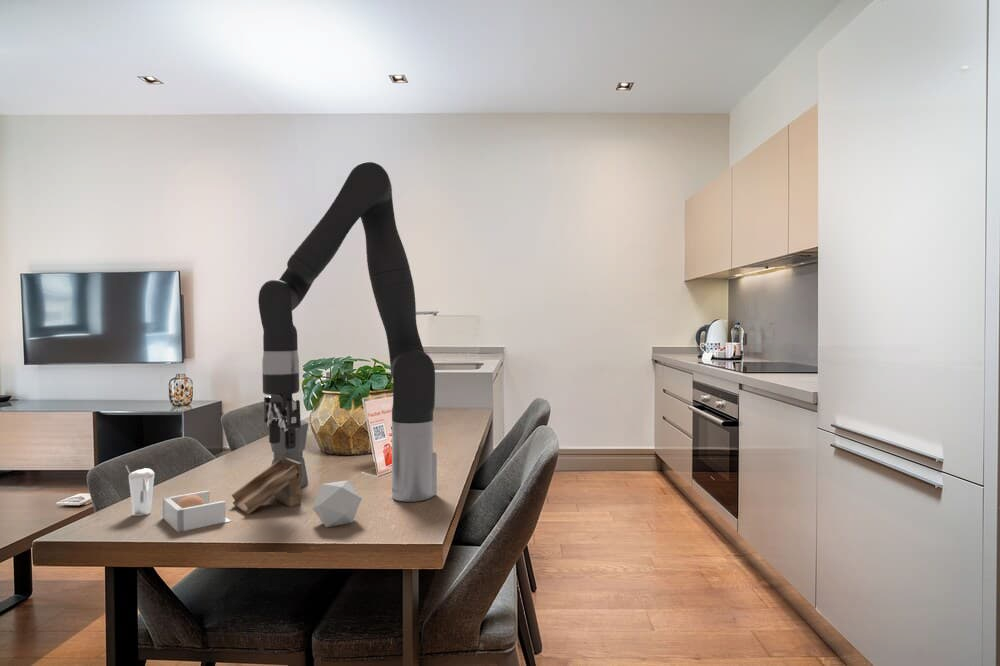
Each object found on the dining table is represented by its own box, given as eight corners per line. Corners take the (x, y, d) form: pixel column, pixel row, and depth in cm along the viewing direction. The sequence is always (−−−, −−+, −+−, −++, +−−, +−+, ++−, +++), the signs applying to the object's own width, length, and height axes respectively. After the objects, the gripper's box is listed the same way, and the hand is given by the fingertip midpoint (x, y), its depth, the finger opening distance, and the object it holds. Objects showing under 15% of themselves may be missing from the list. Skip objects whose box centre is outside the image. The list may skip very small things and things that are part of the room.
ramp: (286, 495, 130) (286, 457, 130) (301, 503, 124) (301, 463, 124) (231, 506, 122) (231, 465, 122) (244, 515, 116) (244, 472, 116)
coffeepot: (305, 491, 134) (305, 414, 134) (262, 493, 132) (262, 415, 132) (312, 475, 149) (312, 406, 149) (274, 477, 147) (274, 407, 147)
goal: (208, 509, 120) (208, 490, 120) (225, 522, 112) (225, 501, 112) (162, 518, 115) (162, 498, 115) (177, 532, 107) (177, 510, 107)
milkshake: (132, 510, 120) (132, 462, 120) (159, 510, 120) (158, 462, 120) (119, 517, 115) (119, 468, 115) (147, 517, 115) (147, 467, 116)
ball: (169, 501, 113) (179, 523, 114) (175, 507, 109) (186, 529, 110) (195, 488, 116) (204, 509, 117) (202, 492, 112) (212, 514, 113)
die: (353, 516, 118) (325, 479, 117) (377, 502, 113) (347, 464, 113) (327, 542, 111) (296, 503, 110) (350, 529, 106) (318, 488, 106)
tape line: (212, 508, 121) (212, 507, 121) (231, 521, 113) (231, 520, 113) (206, 509, 121) (206, 508, 121) (224, 522, 112) (224, 522, 112)
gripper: (311, 372, 123) (312, 447, 123) (284, 369, 133) (285, 439, 133) (276, 374, 118) (277, 453, 118) (251, 371, 128) (252, 443, 128)
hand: (282, 445), depth 126 cm, fingers open, 8 cm apart
